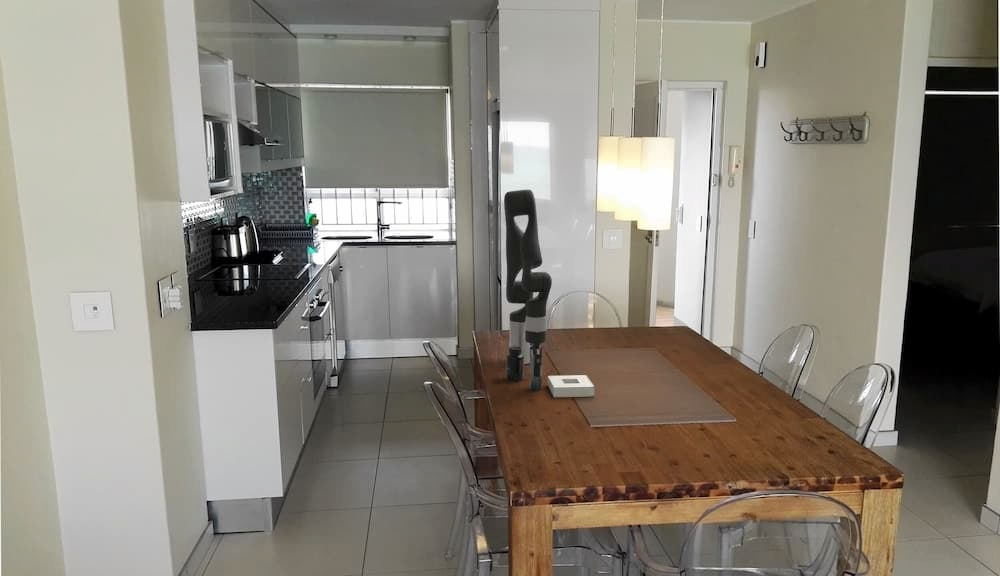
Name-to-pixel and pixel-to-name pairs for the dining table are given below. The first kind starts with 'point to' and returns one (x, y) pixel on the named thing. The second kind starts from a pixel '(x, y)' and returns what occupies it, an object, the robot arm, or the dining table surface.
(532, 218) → the robot arm
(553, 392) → the socket block
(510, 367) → the supplement bottle
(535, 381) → the graphite peg
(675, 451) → the dining table surface
